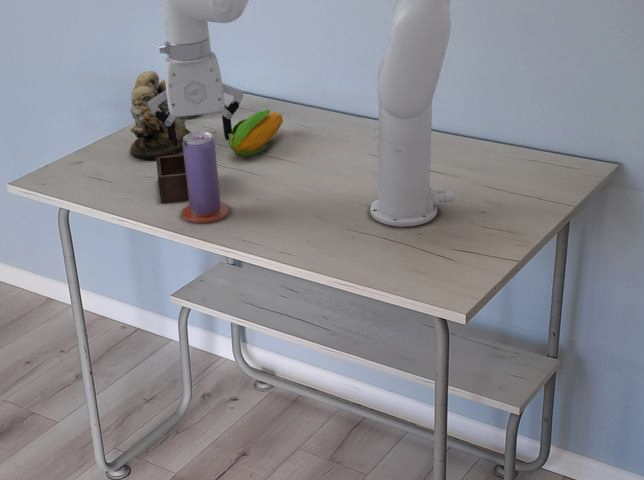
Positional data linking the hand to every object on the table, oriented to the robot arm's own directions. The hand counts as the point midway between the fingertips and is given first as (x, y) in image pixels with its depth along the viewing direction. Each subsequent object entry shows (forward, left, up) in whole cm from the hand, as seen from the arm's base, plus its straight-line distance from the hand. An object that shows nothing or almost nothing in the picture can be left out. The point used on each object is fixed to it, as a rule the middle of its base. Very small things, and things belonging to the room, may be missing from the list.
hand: (201, 140), depth 190 cm
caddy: (+4, -12, -15) cm, 19 cm away
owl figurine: (+8, -36, -15) cm, 40 cm away
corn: (-13, -31, -15) cm, 37 cm away
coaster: (+1, 0, -15) cm, 15 cm away
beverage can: (+1, 0, -15) cm, 14 cm away
